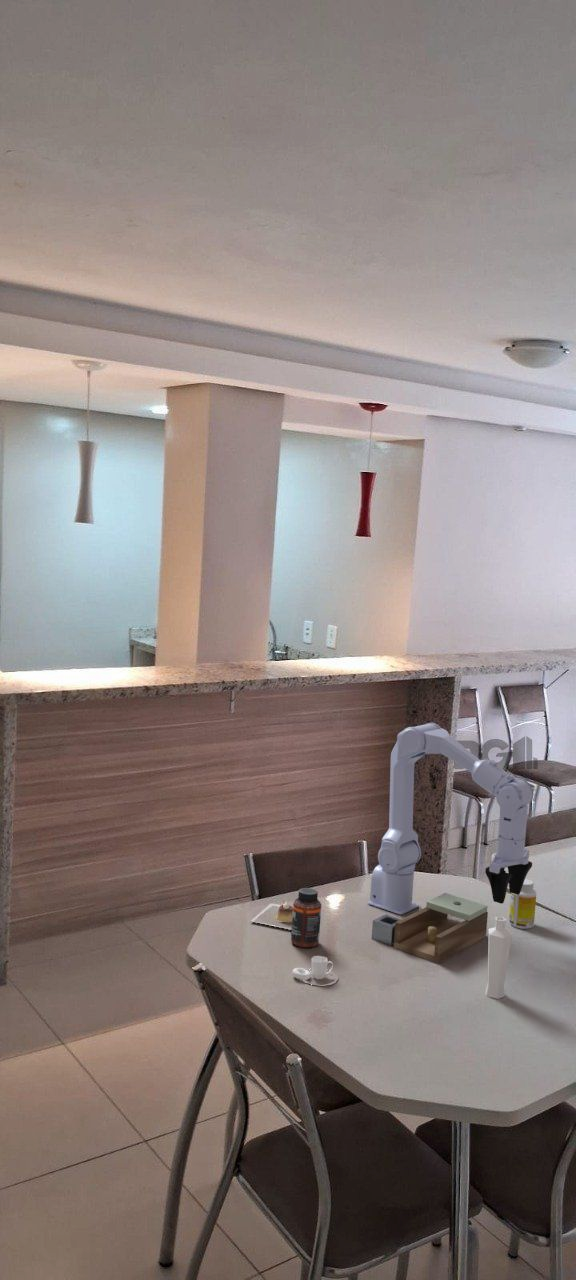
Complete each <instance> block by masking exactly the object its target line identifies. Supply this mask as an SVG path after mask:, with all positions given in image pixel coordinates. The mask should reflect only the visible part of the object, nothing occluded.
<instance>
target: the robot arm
mask: <svg viewBox="0 0 576 1280" xmlns="http://www.w3.org/2000/svg"><path fill="white" fill-rule="evenodd" d="M396 737H397V740H396V743H395V745H394V746H393V748H392V751H391V753H390V769H389V770H390V774H389V775H390V776H389V779H390V780H389V781H390V782H389V809H388V810H389V816H388V817H389V819H388V820H389V821H388V827H389V828H388V829H387V831H386V832H385V834H384V835H383V837H382V838H381V846H380V849H379V850H378V853H377V860H378V864H377V865H376V866H375V868H374V869H373V871H372V873H371V874H372V875H371V877H370V893H369V896H370V897H369V901H367V904H368V905H370V906H372V907H376V908H379V909H382V910H385V911H388V912H392V913H395V914H397V915H401V916H402V915H405V914H407V913H408V912H410V911H413V910H414V909H416V908H418V907H419V906H420V904H419V903H416V902H414V901H413V893H414V891H413V890H414V879H415V878H414V875H415V869H416V864H417V863H418V862H419V861H420V859H421V857H422V850H421V849H422V848H421V847H420V844H419V835H418V833H417V832H416V830H414V828H413V827H414V795H415V794H414V793H415V792H414V791H415V790H414V789H415V764H416V762H417V761H418V760H420V759H421V758H423V756H425V755H432V754H433V755H435V754H436V755H443V756H445V757H446V758H448V759H449V760H451V761H453V762H454V763H456V764H457V765H458V766H460V767H461V768H463V769H464V770H466V771H468V772H469V773H470V774H471V779H472V781H473V782H474V783H476V784H477V785H478V786H479V787H481V788H482V789H483V790H485V791H486V792H488V793H489V794H490V795H492V796H494V797H495V799H496V802H497V804H498V805H499V822H498V831H497V832H498V833H497V843H496V845H497V846H496V853H495V854H494V857H493V859H492V861H490V862H489V866H487V867H486V868H485V869H484V870H485V871H484V873H485V875H486V876H487V880H488V881H489V885H490V889H491V896H492V900H493V902H495V903H498V904H501V905H502V904H504V903H505V900H506V895H507V889H509V893H510V894H511V893H514V894H517V895H519V894H520V892H521V889H522V886H523V883H524V880H525V879H526V877H527V875H528V874H529V871H530V870H531V869H532V867H533V862H532V861H530V860H529V857H530V856H529V855H530V850H529V849H525V848H526V847H525V846H526V836H527V835H526V834H527V822H528V809H529V806H528V805H529V804H530V803H531V802H532V801H533V799H534V793H535V792H534V789H533V787H532V785H531V784H530V783H529V782H528V781H527V779H524V778H515V775H514V774H512V773H508V772H507V771H505V770H504V769H502V767H500V766H498V762H497V761H495V760H494V759H492V760H490V759H487V758H486V759H479V758H478V757H477V756H476V755H474V754H473V753H472V752H471V751H470V750H468V749H467V747H465V746H463V745H462V744H461V743H460V742H459V741H457V740H456V739H455V738H453V737H452V735H450V733H449V732H448V730H447V729H445V728H441V726H440V725H439V724H437V723H435V722H428V723H425V724H421V725H416V726H409V727H406V728H404V729H403V730H402V731H400V732H399V733H398V734H397V736H396ZM506 868H507V871H506V870H505V869H506Z"/></svg>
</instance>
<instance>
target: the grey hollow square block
mask: <svg viewBox="0 0 576 1280" xmlns="http://www.w3.org/2000/svg"><path fill="white" fill-rule="evenodd" d="M401 919H402V918H397V917H395V916H392V915H390V914H384V915H381V916H378V917H377V918H375V919H373V920H372V925H371V926H372V929H371V939H372V940H375V941H377V942H381V943H383V944H387V945H389V946H394V936H395V922H397V921H399V920H401Z"/></svg>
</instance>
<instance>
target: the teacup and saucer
mask: <svg viewBox="0 0 576 1280" xmlns="http://www.w3.org/2000/svg"><path fill="white" fill-rule="evenodd" d="M328 964H331V967H330V969H328ZM309 968H310V969H311V968H312V971H310V972H309V971H308V970H306V969H307V968H303V967H295V968H293V970H292V971H291V973H292V976H293V977H294V978H295V979H296V980H299V981H301V980H302V981H303V980H306V981H308V980H309V979H310V978H311V977H312V978H313V977H314V978H316V979H315V980H318V979H321V980H323V979H324V978H325V977H326V976H328V975H330V974H329V973H330V972H331V971H332V970H333V968H334V962H333V961H331V960H328V957H326V956H323V955H314V956H312V957H311V967H309ZM310 969H309V970H310ZM326 970H329V972H327V973H326ZM314 978H313V979H314ZM322 978H323V979H322ZM302 981H301V982H302ZM305 983H306V982H305ZM305 983H304V984H305ZM310 986H312V984H311V985H310Z"/></svg>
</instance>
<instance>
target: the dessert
mask: <svg viewBox="0 0 576 1280" xmlns="http://www.w3.org/2000/svg"><path fill="white" fill-rule="evenodd" d="M272 906H277V907H279V909H277V914H276V915H275V918H276V919H277V920H279V921H282V922H292V917H293V906H292V905H290V904H289V903H288V901H284V900H283V903H281V904H277V903H271V902H270V903H269V904H268V905H267V906H266V907H265V908H264V909H263V910H262V911H260V912H259V913H257V915H256V916H254V917H253V918H252V919H251V920H250V922H252V923H253V922H255V920H256V919H257V918H258V917H259V916H260V915H261V914H263V913H264V912H265V911H266V910H268V909H269V908H271V907H272ZM276 919H275V920H276ZM257 923H260V924H259V925H261V924H265V925H264V926H266V925H269V926H268V927H271V926H274V927H273V928H276V927H279V928H278V929H281V928H284V929H283V930H286V929H288V930H287V931H290V930H292V928H289V927H285V926H284V927H283V926H278V925H274V924H270V923H264V922H260V921H259V922H255V923H254V924H257Z"/></svg>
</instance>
